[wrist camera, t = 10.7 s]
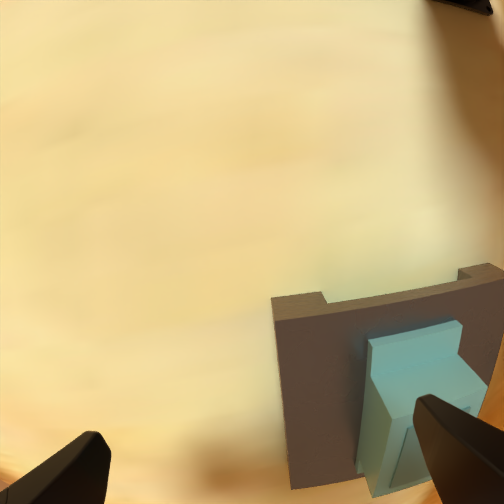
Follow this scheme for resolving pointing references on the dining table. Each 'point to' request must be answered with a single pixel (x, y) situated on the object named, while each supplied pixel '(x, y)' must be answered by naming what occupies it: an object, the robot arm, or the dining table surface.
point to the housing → (409, 401)
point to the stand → (355, 360)
